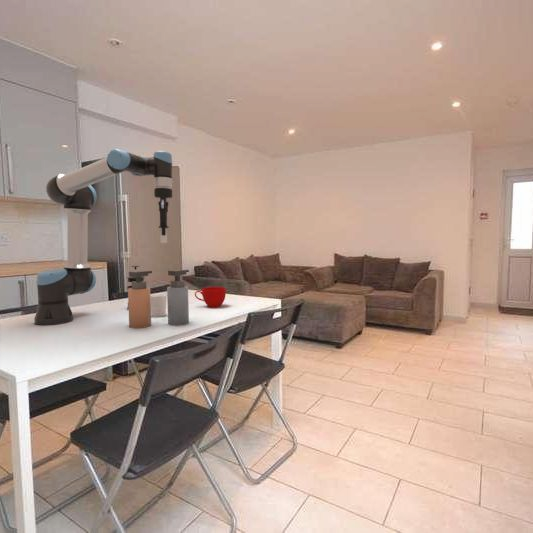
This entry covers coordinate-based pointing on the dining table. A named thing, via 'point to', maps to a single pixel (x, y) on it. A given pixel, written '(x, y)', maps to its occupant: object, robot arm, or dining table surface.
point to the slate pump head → (177, 273)
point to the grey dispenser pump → (139, 275)
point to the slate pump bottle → (178, 303)
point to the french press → (133, 280)
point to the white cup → (158, 305)
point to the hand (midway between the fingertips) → (163, 242)
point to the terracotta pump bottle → (139, 305)
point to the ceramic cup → (213, 296)
